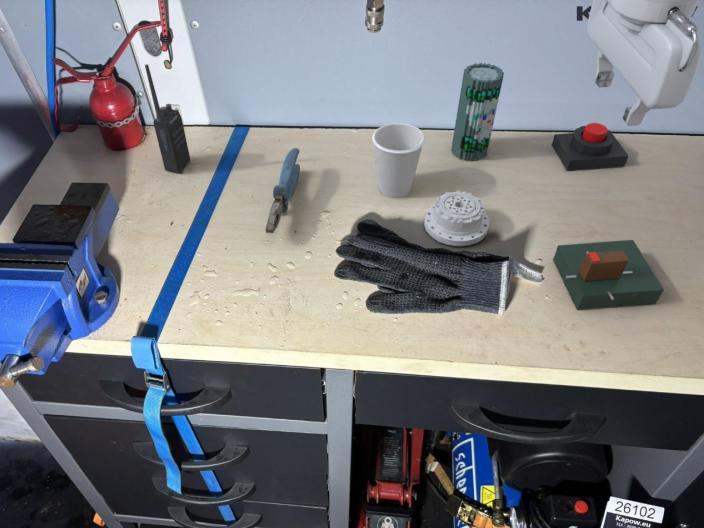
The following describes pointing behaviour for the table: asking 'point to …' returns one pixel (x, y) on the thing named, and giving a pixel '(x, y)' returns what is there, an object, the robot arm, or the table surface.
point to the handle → (603, 265)
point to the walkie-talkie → (169, 133)
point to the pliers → (283, 189)
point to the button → (595, 132)
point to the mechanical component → (457, 219)
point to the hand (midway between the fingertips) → (615, 103)
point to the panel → (627, 291)
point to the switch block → (588, 151)
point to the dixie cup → (397, 157)
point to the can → (476, 110)
